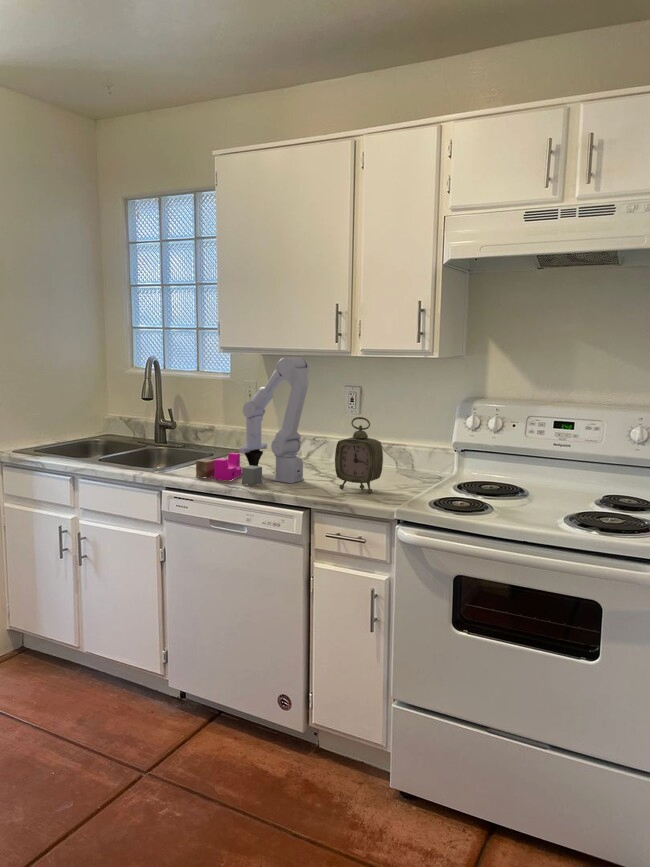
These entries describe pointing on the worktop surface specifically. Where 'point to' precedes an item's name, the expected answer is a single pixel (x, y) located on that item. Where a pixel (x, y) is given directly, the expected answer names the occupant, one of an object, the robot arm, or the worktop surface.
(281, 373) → the robot arm
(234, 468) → the toy block
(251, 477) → the slate block
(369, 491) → the tabletop clock
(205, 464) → the walnut block
